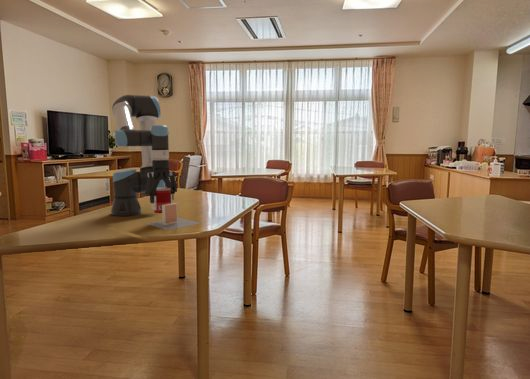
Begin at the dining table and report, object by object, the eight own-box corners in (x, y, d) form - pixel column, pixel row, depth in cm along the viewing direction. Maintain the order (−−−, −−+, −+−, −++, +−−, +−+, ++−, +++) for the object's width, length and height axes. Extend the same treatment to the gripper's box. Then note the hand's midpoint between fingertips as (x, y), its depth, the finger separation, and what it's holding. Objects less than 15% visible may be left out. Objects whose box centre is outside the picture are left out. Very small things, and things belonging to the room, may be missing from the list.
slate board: (145, 226, 168) (144, 223, 167) (177, 220, 181) (177, 217, 181) (168, 233, 156) (168, 230, 156) (201, 225, 170) (201, 223, 169)
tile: (162, 224, 166) (162, 204, 165) (175, 221, 171) (175, 202, 170) (164, 225, 165) (164, 205, 164) (177, 222, 170) (177, 203, 169)
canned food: (174, 211, 172) (174, 187, 171) (161, 214, 166) (160, 189, 164) (163, 209, 176) (163, 186, 175) (150, 212, 170) (149, 188, 169)
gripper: (144, 160, 158) (146, 212, 161) (184, 158, 173) (185, 206, 176) (135, 160, 163) (137, 210, 166) (174, 158, 178) (176, 204, 181)
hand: (162, 208), depth 171 cm, fingers closed on canned food, 8 cm apart
